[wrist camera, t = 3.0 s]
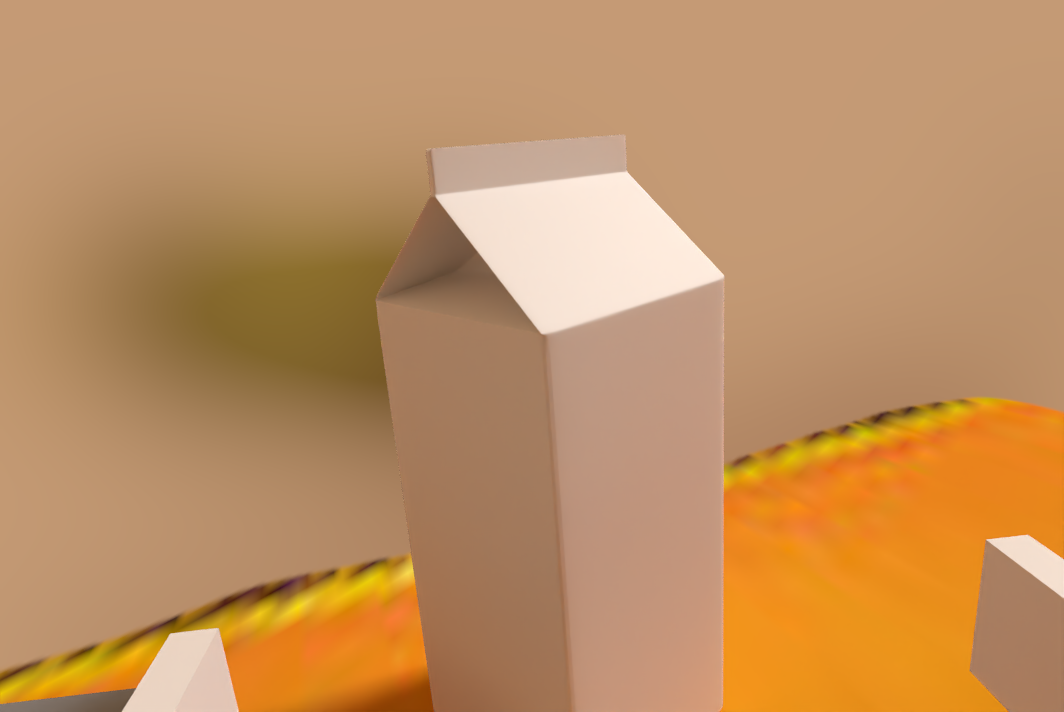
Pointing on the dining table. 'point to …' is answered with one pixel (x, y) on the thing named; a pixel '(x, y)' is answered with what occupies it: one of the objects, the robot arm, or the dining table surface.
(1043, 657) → the robot arm
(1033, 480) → the dining table surface
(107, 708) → the bowl
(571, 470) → the milk carton
